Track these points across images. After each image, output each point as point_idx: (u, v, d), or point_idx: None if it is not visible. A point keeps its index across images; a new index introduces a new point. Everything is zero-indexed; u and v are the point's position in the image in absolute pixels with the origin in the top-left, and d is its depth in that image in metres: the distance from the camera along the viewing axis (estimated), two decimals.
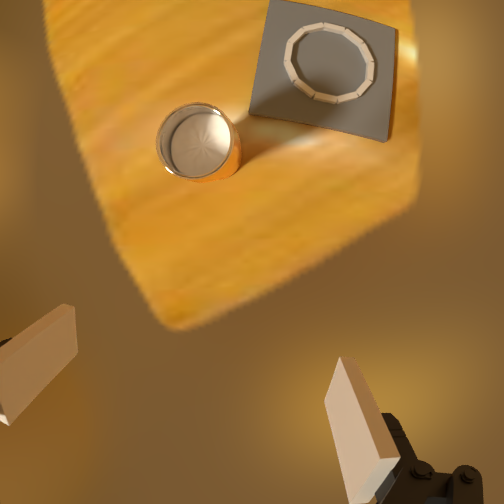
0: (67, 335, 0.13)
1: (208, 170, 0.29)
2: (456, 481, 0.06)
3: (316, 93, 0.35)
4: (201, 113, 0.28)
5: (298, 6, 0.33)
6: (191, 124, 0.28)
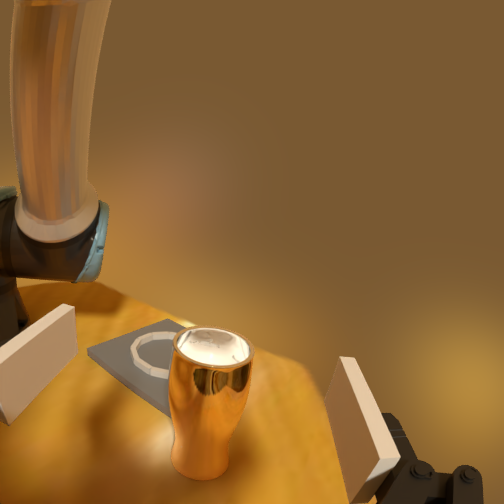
0: (67, 335, 0.13)
1: None
2: (456, 481, 0.06)
3: None
4: None
5: (109, 342, 0.44)
6: None
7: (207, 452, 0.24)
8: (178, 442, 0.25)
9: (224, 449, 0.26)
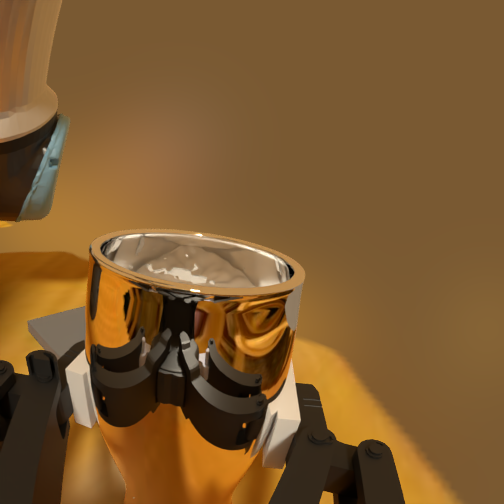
0: None
1: None
2: (361, 458, 0.08)
3: None
4: None
5: (60, 315, 0.29)
6: None
7: None
8: (127, 488, 0.10)
9: None
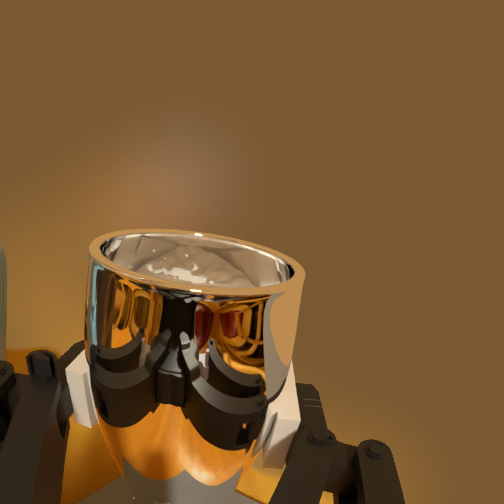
0: None
1: None
2: (362, 458, 0.08)
3: None
4: None
5: None
6: None
7: None
8: (127, 488, 0.10)
9: None
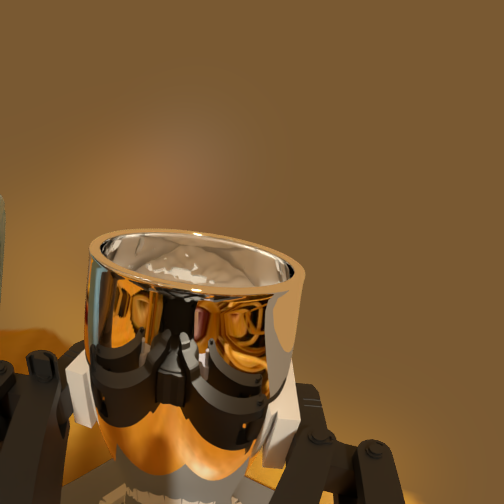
0: None
1: None
2: (362, 458, 0.08)
3: None
4: None
5: None
6: None
7: None
8: (127, 488, 0.10)
9: None
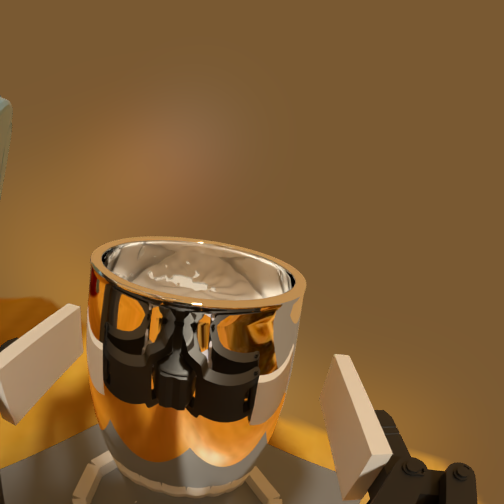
0: (73, 335, 0.13)
1: None
2: (449, 479, 0.06)
3: None
4: None
5: (29, 465, 0.12)
6: None
7: None
8: (130, 492, 0.10)
9: None
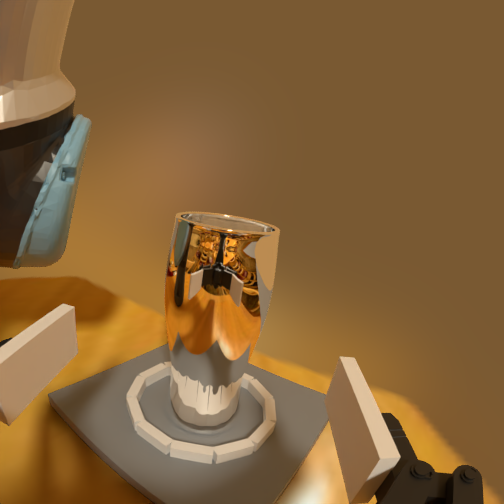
0: (67, 335, 0.13)
1: None
2: (456, 481, 0.06)
3: (251, 438, 0.19)
4: None
5: (89, 382, 0.23)
6: None
7: (214, 385, 0.20)
8: (175, 375, 0.20)
9: (236, 386, 0.21)
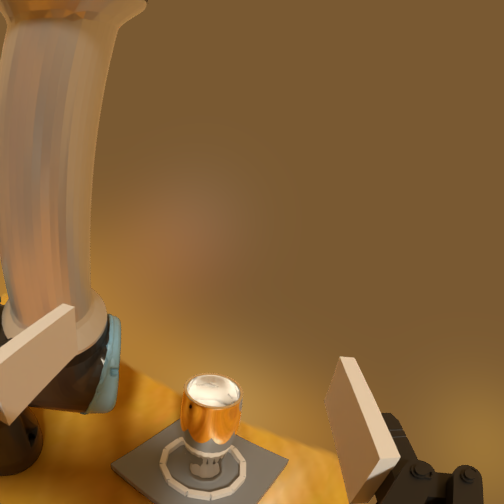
0: (67, 335, 0.13)
1: None
2: (456, 481, 0.06)
3: (231, 487, 0.32)
4: None
5: (134, 453, 0.35)
6: None
7: (210, 463, 0.32)
8: (188, 456, 0.33)
9: (222, 460, 0.34)
